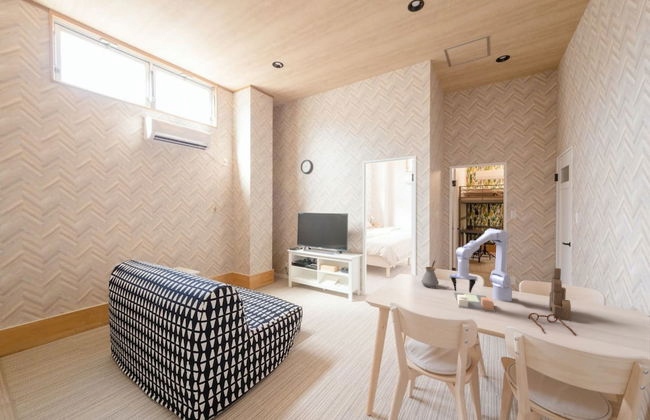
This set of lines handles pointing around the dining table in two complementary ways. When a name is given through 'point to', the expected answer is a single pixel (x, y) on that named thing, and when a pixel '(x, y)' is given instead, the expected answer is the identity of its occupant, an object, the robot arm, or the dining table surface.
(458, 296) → the cream brick
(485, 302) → the terracotta brick
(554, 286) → the wooden toy
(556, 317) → the glasses
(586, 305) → the dining table surface
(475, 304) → the baseplate
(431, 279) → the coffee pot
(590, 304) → the dining table surface
